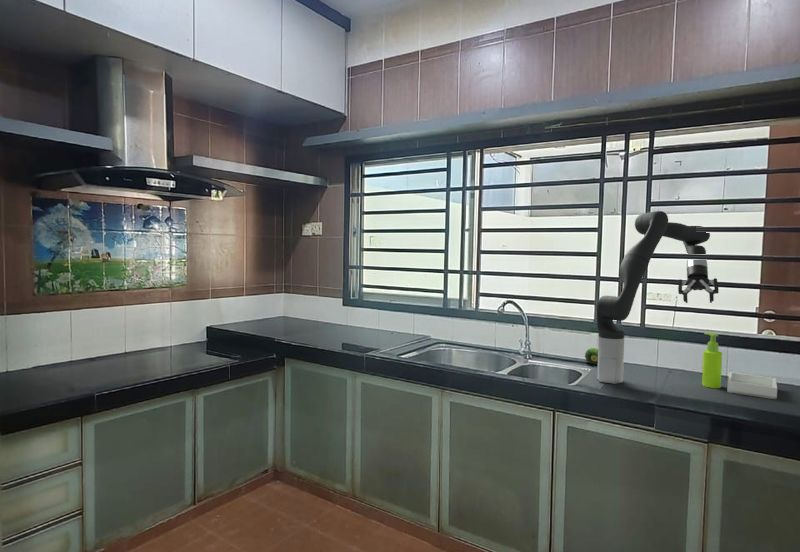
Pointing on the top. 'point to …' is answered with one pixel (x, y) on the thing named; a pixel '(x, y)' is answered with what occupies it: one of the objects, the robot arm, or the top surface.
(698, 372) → the top surface
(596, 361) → the vegetable
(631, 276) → the robot arm
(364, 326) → the top surface
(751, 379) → the tray
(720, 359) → the soap dispenser
